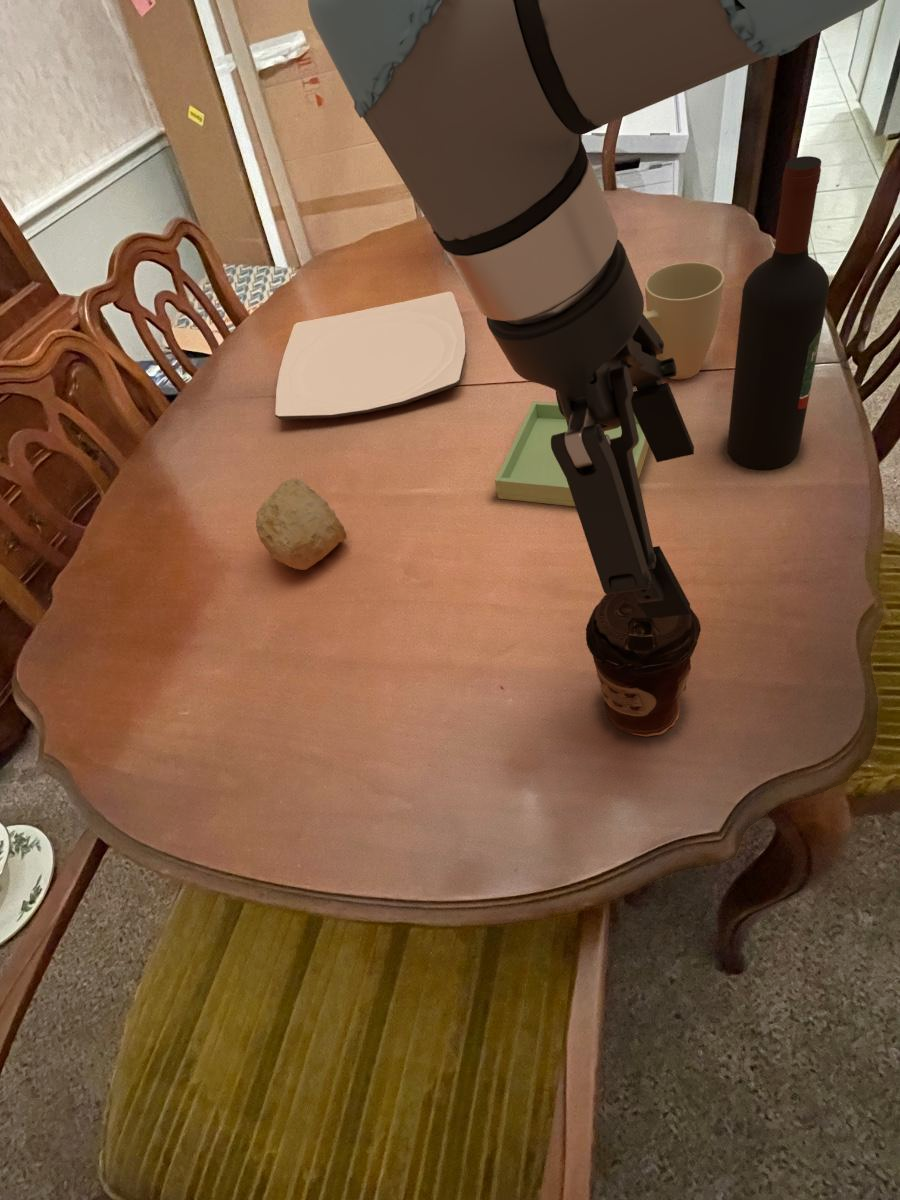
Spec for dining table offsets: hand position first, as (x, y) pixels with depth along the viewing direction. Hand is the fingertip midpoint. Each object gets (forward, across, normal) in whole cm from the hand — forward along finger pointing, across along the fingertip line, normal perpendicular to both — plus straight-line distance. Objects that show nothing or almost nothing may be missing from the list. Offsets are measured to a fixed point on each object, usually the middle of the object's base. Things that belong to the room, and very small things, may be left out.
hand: (672, 528), depth 52 cm
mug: (+26, -46, -8) cm, 53 cm away
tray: (+20, -29, -18) cm, 39 cm away
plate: (+14, -52, -50) cm, 73 cm away
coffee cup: (+18, +5, -8) cm, 21 cm away
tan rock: (+9, -13, -46) cm, 48 cm away
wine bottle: (+27, -31, +2) cm, 41 cm away
